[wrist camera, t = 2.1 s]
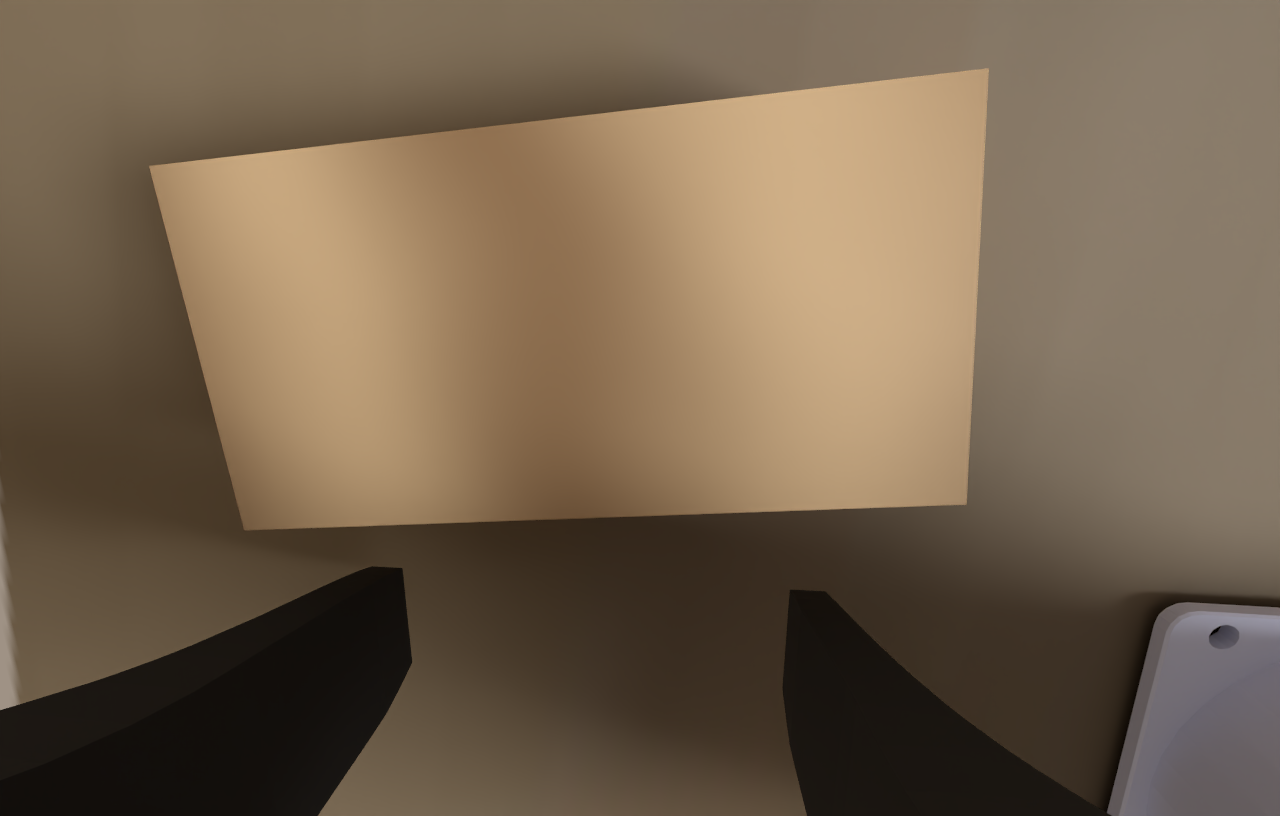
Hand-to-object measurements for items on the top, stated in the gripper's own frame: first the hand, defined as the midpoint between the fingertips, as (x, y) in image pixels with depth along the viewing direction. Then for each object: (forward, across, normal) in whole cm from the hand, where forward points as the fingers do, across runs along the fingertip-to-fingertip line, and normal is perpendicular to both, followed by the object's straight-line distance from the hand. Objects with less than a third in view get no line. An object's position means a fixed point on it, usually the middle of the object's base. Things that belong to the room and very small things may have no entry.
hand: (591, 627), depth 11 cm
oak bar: (+2, 0, -6) cm, 6 cm away
